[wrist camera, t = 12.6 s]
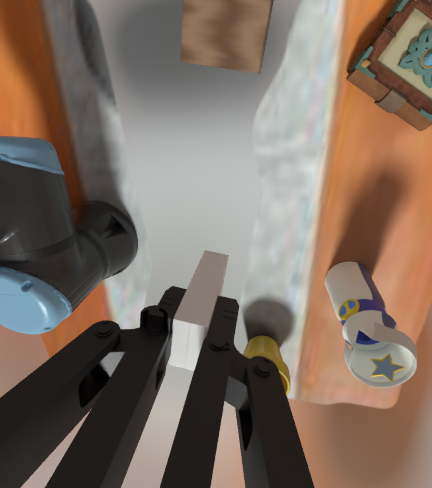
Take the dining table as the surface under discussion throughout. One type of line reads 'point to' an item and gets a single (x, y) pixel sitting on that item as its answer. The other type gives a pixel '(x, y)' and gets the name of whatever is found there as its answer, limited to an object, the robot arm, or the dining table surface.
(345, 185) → the dining table surface
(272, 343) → the plant pot
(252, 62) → the walnut block
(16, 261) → the robot arm
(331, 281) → the water bottle
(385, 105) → the decorative book
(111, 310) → the dining table surface
